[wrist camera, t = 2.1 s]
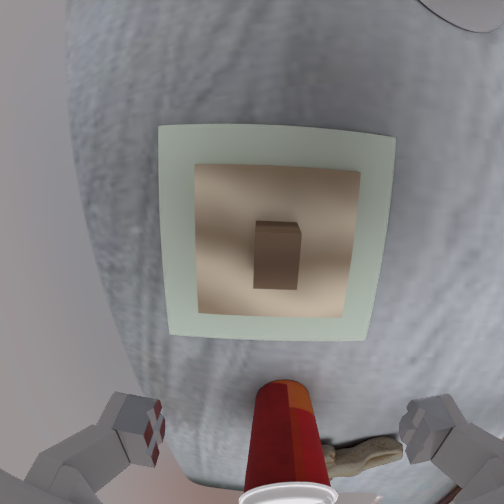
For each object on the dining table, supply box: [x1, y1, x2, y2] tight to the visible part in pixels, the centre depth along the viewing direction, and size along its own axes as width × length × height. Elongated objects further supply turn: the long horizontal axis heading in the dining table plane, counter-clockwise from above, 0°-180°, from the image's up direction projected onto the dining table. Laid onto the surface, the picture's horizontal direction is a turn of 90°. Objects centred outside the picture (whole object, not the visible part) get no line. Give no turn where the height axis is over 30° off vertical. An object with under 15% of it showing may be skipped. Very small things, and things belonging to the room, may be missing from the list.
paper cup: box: [239, 380, 338, 504], centre depth 24 cm, size 8×8×14 cm
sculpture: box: [322, 436, 403, 481], centre depth 32 cm, size 7×5×15 cm
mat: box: [158, 124, 396, 341], centre depth 25 cm, size 18×18×1 cm
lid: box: [194, 164, 361, 318], centre depth 23 cm, size 12×12×4 cm
